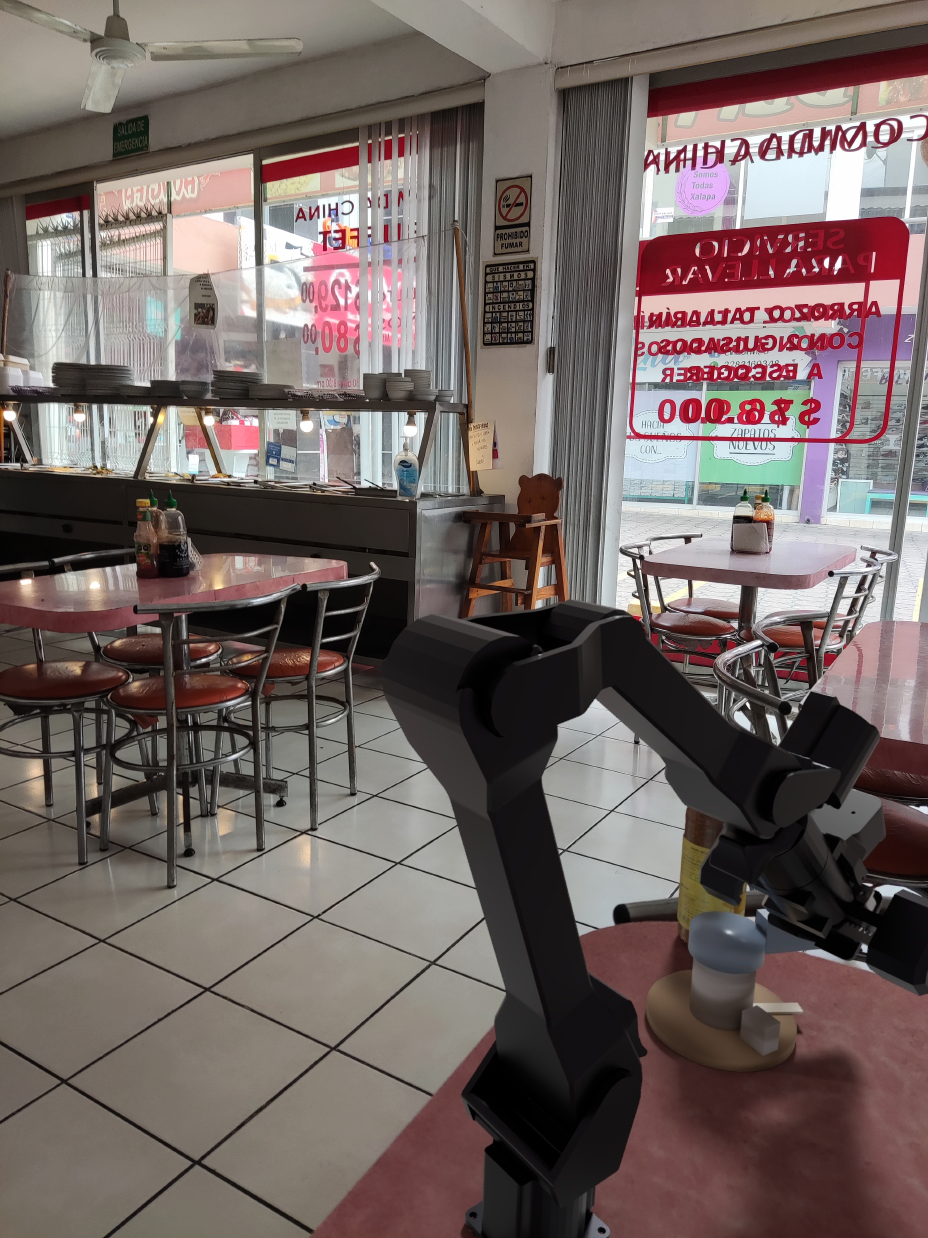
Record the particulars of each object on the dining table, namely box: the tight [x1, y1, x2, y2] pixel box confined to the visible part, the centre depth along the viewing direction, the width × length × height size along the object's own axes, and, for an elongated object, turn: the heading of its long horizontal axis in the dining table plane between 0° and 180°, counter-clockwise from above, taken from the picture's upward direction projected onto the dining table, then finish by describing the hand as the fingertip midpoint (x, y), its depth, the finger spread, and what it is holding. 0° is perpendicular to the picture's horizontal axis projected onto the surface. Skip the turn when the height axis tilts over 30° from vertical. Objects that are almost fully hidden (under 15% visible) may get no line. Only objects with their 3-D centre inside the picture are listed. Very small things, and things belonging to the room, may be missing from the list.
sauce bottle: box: [676, 806, 748, 945], centre depth 85 cm, size 6×6×20 cm
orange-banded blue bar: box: [687, 908, 821, 974], centre depth 73 cm, size 14×6×3 cm, turn 101°
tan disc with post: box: [645, 957, 804, 1073], centre depth 74 cm, size 12×12×6 cm
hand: (848, 946), depth 73 cm, fingers closed
